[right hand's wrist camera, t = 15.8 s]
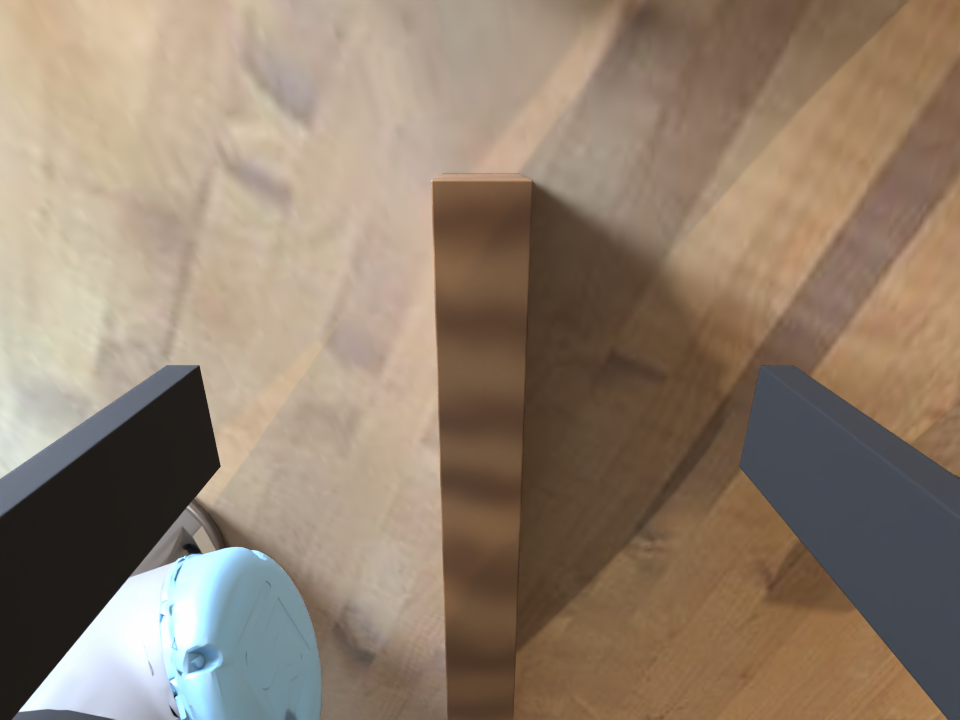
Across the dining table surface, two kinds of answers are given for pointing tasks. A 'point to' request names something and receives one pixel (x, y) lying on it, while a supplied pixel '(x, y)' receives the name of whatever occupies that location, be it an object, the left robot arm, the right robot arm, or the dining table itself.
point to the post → (481, 427)
